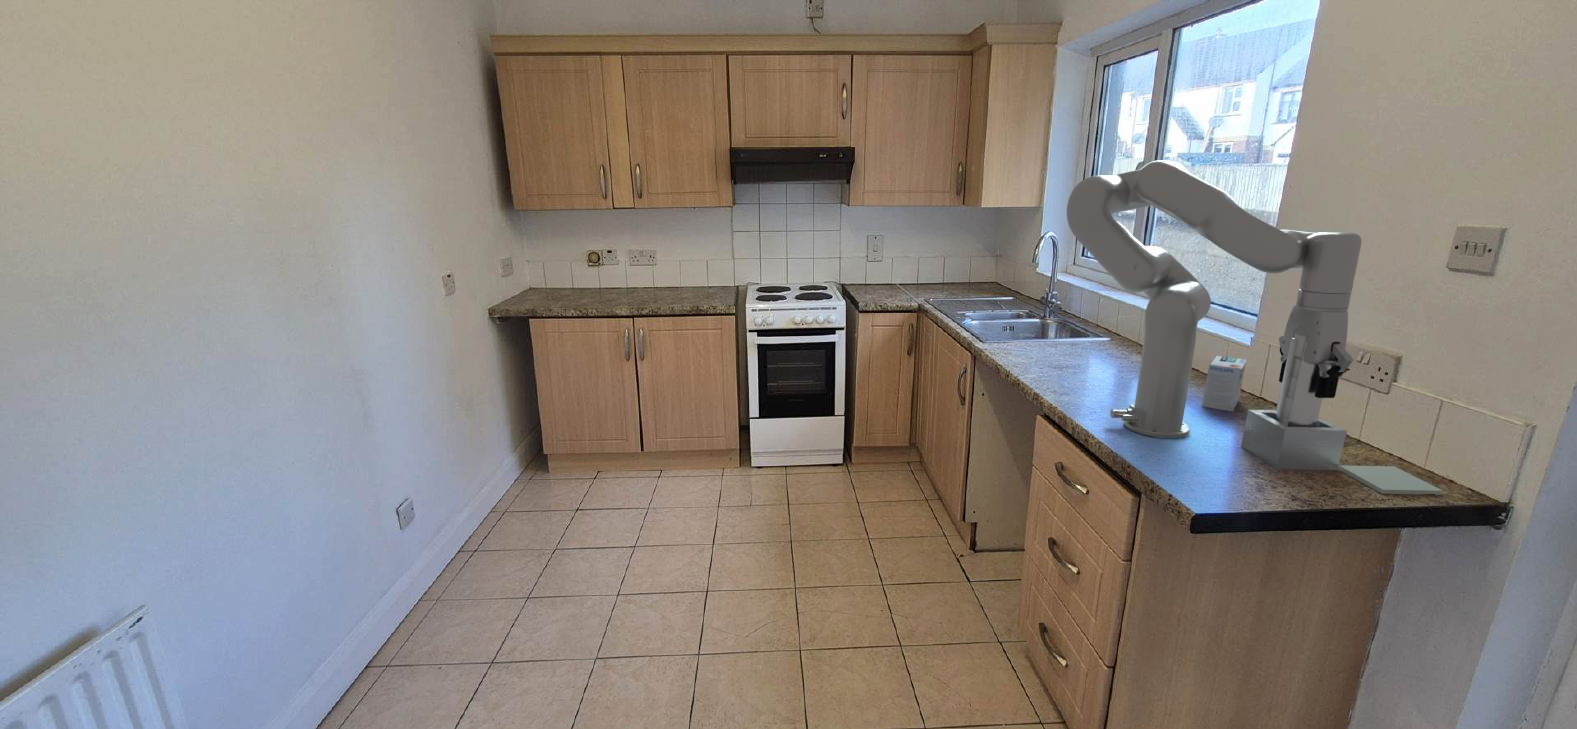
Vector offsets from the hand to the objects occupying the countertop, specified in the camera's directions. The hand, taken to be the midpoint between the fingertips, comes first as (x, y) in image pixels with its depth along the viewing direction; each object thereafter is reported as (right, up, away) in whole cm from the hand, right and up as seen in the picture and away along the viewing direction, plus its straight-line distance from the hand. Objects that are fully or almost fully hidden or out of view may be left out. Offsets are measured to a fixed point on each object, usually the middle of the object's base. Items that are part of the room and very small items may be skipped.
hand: (1305, 389), depth 124 cm
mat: (+10, -16, -6) cm, 20 cm away
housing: (0, -14, +4) cm, 14 cm away
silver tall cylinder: (0, -14, +4) cm, 14 cm away
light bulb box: (+7, -5, +36) cm, 37 cm away
